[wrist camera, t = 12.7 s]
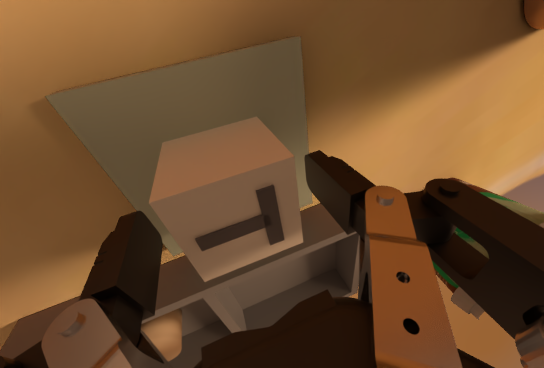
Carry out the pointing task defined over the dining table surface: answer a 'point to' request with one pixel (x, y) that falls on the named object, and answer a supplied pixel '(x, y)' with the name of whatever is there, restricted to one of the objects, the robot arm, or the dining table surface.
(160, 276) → the organiser tray
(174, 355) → the tan oval stone
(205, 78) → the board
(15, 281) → the dining table surface
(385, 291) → the robot arm
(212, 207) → the letter cube
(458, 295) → the food container
